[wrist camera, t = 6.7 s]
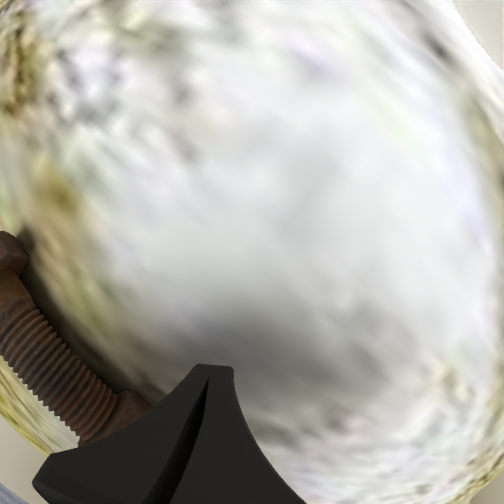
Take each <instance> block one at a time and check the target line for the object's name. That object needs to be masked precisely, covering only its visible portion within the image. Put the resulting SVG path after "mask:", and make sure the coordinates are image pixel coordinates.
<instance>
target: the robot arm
mask: <svg viewBox="0 0 504 504" xmlns="http://www.w3.org/2000/svg"><path fill="white" fill-rule="evenodd" d="M32 484H33V487H34V488H35V490H36V491H37V492H38V493H39V494H40V495H41V496H42V497H43V498H44V499H45V500H46V501H47V502H48V503H49V504H307V503H306V502H305V501H304V500H302V499H301V498H300V497H299V496H298V495H297V494H296V493H295V492H294V491H293V490H292V489H291V488H290V487H289V486H288V485H287V484H286V482H285V481H284V480H283V479H282V478H281V477H280V476H279V474H278V473H277V472H276V471H275V469H274V468H273V467H272V465H271V464H270V463H269V461H268V460H267V458H266V457H265V456H264V454H263V453H262V451H261V449H260V448H259V446H258V445H257V443H256V441H255V439H254V437H253V436H252V434H251V432H250V430H249V428H248V426H247V423H246V421H245V419H244V416H243V414H242V411H241V408H240V405H239V402H238V399H237V396H236V392H235V387H234V369H233V368H232V367H229V366H217V365H206V364H197V365H196V366H195V367H194V368H193V369H192V370H191V371H190V373H189V374H188V375H187V376H186V377H185V378H184V379H183V380H182V381H181V382H180V384H179V385H178V386H177V387H176V388H175V389H174V390H173V391H172V392H171V393H169V394H168V395H167V396H166V397H165V398H164V399H163V400H162V401H161V402H159V403H158V404H157V405H156V406H155V407H154V408H152V409H151V410H150V411H148V412H147V413H146V414H144V415H143V416H142V417H140V418H139V419H137V420H136V421H134V422H133V423H131V424H130V425H128V426H126V427H124V428H123V429H121V430H119V431H117V432H115V433H113V434H111V435H109V436H107V437H105V438H103V439H100V440H98V441H95V442H93V443H90V444H87V445H84V446H81V447H78V448H74V449H70V450H66V451H62V452H58V453H52V454H50V455H49V457H48V458H47V459H46V461H45V462H44V464H43V465H42V467H41V468H40V470H39V471H38V473H37V474H36V476H35V478H34V479H33V481H32ZM0 504H28V503H27V502H25V501H24V500H22V499H21V498H20V497H18V496H17V495H15V494H14V493H13V492H11V491H10V490H9V489H7V488H6V487H5V486H4V485H2V484H1V483H0Z"/></svg>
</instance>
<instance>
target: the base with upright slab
mask: <svg viewBox="0 0 504 504" xmlns="http://www.w3.org/2000/svg"><path fill="white" fill-rule="evenodd" d="M452 2H453V4H454V6H455V8H456V10H457V11H458V13H459V15H460V16H461V18H462V19H463V21H464V23H465V24H466V26H467V27H468V28H469V30H470V31H471V33H472V34H473V35H474V37H475V38H476V40H477V41H478V43H479V44H480V45H481V46H482V48H483V49H484V50H485V51H486V52H487V54H488V55H489V56H490V58H491V59H492V60H493V61H494V62H495V63H496V64H497V66H498V67H499V68H500V69H501V70H502V71H503V72H504V0H452Z"/></svg>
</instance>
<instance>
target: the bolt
mask: <svg viewBox="0 0 504 504" xmlns="http://www.w3.org/2000/svg"><path fill="white" fill-rule="evenodd" d="M28 260H29V257H28V255H27V254H26V252H25V250H24V249H23V247H22V245H21V244H20V242H19V240H18V239H16V238H15V237H14V236H13V235H11V234H10V233H8V232H5V231H0V355H2V356H3V359H4V361H8V366H9V367H13V370H12V371H13V372H14V373H18V376H17V377H18V378H19V379H20V378H23V381H22V383H23V384H28V387H27V389H28V390H33V395H38V401H41V400H43V406H49V411H54V416H60V421H65V426H70V430H71V431H75V432H76V436H80V439H79V442H78V447H81V446H84V445H87V444H90V443H93V442H95V441H98V440H100V439H103V438H105V437H107V436H109V435H111V434H113V433H115V432H117V431H119V430H121V429H123V428H124V427H126V426H128V425H130V424H131V423H133V422H134V421H136V420H137V419H139V418H140V417H142V416H143V415H144V414H146V413H147V412H148V411H150V410H151V409H152V408H153V407H152V406H151V405H150V404H149V403H148V402H146V401H145V400H144V399H143V398H142V397H141V396H139V395H138V394H137V393H136V392H135V391H133V390H124V391H121V392H119V393H118V394H115V393H112V390H111V389H106V384H101V380H100V379H96V375H95V374H91V370H90V369H87V370H86V365H85V364H83V365H81V359H76V354H70V353H71V349H70V348H69V349H66V343H62V344H61V340H62V338H61V337H59V338H56V336H57V332H53V333H52V328H53V327H52V326H50V327H48V321H47V320H46V321H43V319H44V316H43V315H39V313H40V311H39V309H35V308H36V306H35V304H34V303H33V301H32V298H31V296H30V294H29V293H28V291H27V290H26V288H25V287H24V285H23V284H22V282H21V281H20V279H19V276H20V274H21V273H22V271H23V269H24V267H25V265H26V264H27V262H28Z"/></svg>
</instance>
